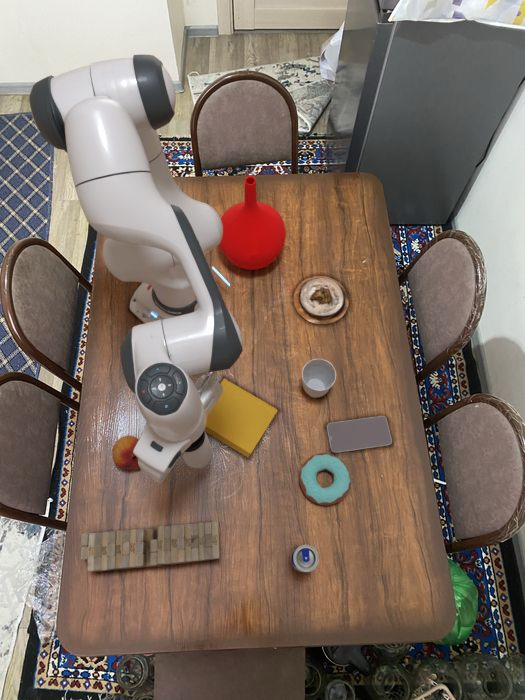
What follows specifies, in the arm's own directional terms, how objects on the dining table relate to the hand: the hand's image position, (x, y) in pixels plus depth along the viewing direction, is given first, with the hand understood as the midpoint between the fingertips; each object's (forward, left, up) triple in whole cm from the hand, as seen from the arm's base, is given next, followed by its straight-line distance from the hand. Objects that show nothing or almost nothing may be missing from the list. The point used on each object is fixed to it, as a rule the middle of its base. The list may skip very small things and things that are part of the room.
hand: (189, 437), depth 98 cm
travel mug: (0, 0, -15) cm, 15 cm away
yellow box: (0, +14, -28) cm, 32 cm away
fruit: (-16, -7, -29) cm, 34 cm away
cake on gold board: (+2, +54, -29) cm, 61 cm away
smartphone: (+28, +26, -28) cm, 48 cm away
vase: (-22, +57, -29) cm, 67 cm away
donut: (+26, +12, -29) cm, 40 cm away
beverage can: (+30, -6, -29) cm, 42 cm away
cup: (+13, +31, -29) cm, 44 cm away
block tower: (+1, -21, -29) cm, 35 cm away
